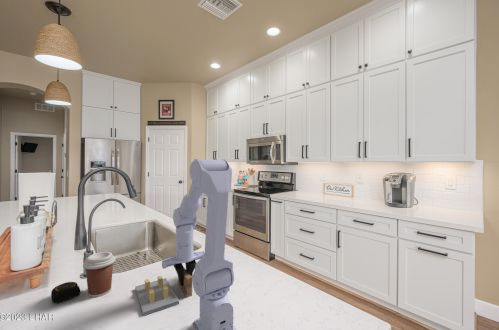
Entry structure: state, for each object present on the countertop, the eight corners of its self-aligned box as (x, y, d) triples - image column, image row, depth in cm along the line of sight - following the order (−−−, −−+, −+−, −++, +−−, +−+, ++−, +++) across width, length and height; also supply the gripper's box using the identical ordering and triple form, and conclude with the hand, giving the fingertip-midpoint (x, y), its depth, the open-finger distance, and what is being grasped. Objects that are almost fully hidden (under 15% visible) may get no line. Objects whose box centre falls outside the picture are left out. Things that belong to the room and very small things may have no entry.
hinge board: (179, 303, 70) (179, 290, 70) (143, 316, 64) (143, 301, 64) (165, 280, 83) (165, 269, 83) (135, 289, 78) (135, 277, 78)
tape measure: (52, 307, 68) (52, 295, 68) (50, 297, 73) (50, 286, 73) (80, 298, 73) (80, 286, 73) (77, 289, 78) (76, 278, 78)
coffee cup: (118, 282, 82) (118, 249, 82) (112, 296, 73) (111, 259, 73) (89, 286, 79) (88, 252, 79) (78, 301, 71) (78, 263, 70)
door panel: (192, 295, 74) (192, 277, 74) (187, 297, 73) (187, 278, 73) (182, 282, 83) (182, 265, 82) (178, 283, 82) (178, 266, 82)
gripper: (200, 236, 85) (200, 273, 85) (159, 244, 77) (159, 284, 77) (208, 242, 79) (208, 281, 79) (164, 251, 71) (164, 294, 71)
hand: (184, 283), depth 78 cm, fingers closed on door panel, 2 cm apart
